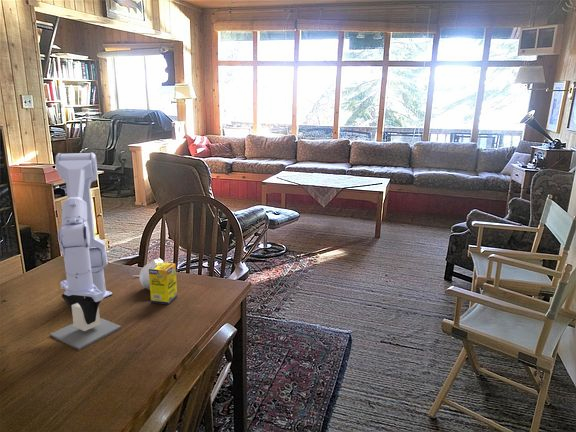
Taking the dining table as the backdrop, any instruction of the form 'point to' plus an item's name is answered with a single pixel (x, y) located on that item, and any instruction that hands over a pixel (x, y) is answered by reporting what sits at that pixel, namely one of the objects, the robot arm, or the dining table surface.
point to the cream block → (80, 320)
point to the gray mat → (85, 334)
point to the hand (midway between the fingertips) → (84, 319)
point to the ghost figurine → (147, 273)
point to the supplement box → (163, 282)
